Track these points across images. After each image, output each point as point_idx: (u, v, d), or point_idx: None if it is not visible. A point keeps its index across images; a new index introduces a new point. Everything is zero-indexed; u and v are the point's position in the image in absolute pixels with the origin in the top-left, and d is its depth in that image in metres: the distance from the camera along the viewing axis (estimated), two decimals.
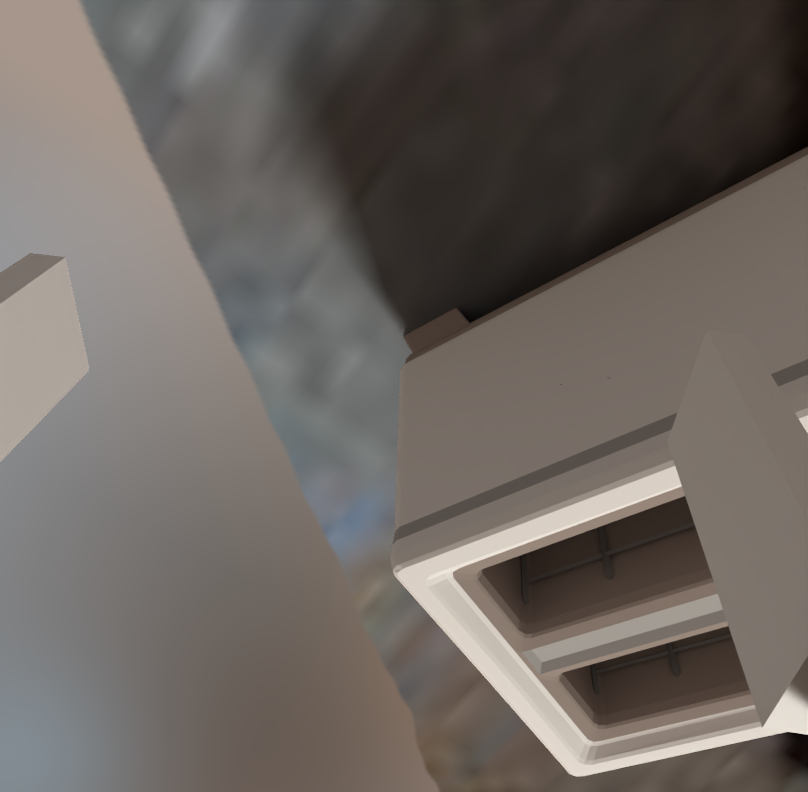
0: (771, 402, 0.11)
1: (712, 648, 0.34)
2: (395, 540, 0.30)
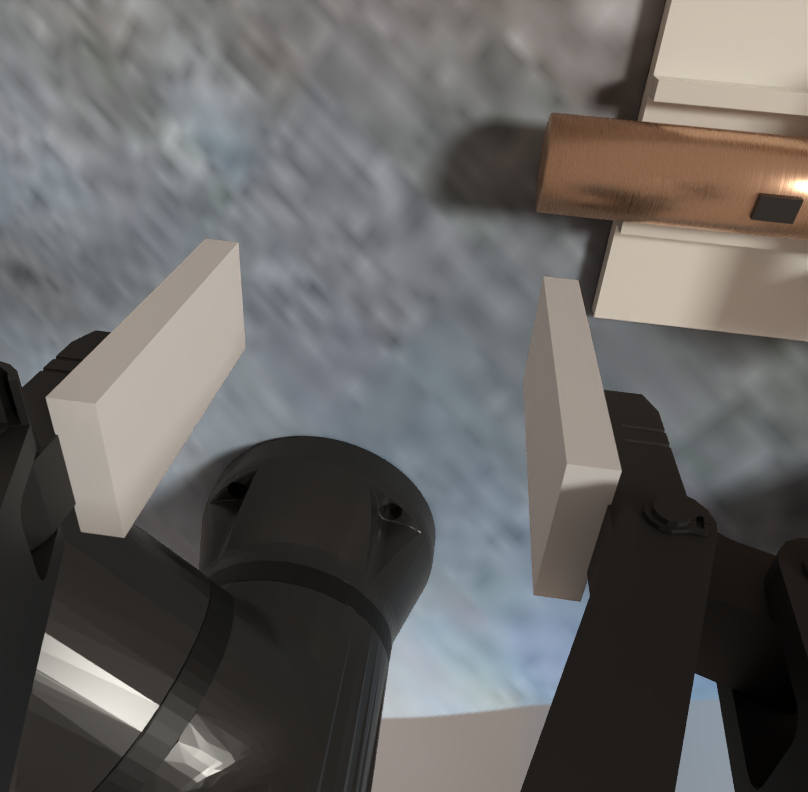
0: (574, 330, 0.13)
1: None
2: None
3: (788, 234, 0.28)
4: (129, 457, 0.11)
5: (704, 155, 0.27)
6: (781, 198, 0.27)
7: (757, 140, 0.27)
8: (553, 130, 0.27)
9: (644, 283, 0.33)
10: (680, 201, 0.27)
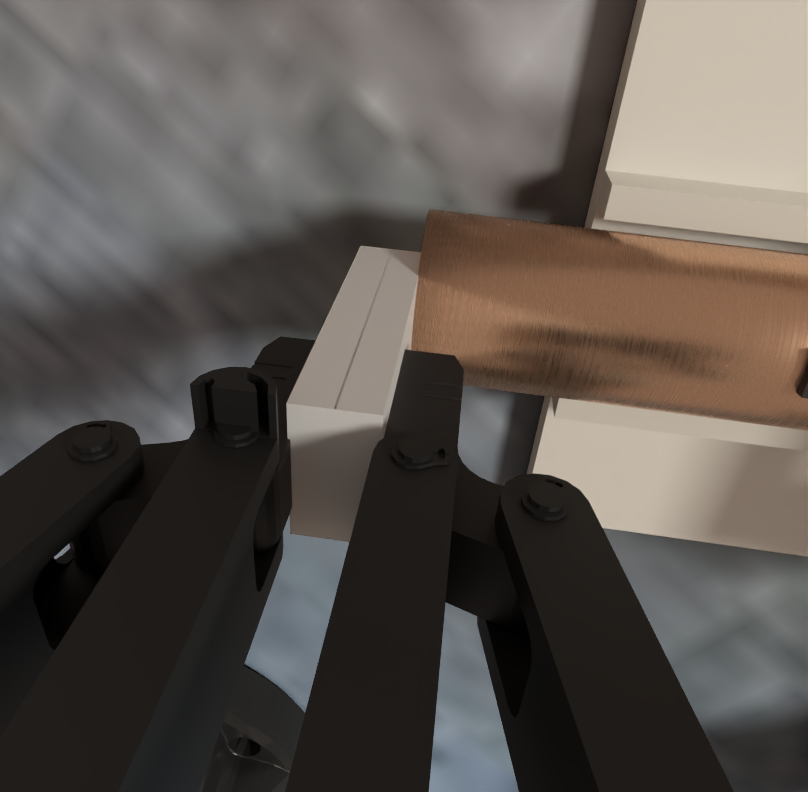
0: (398, 296, 0.14)
1: None
2: None
3: None
4: None
5: (702, 279, 0.14)
6: None
7: (793, 260, 0.15)
8: (426, 229, 0.15)
9: (598, 475, 0.21)
10: (665, 361, 0.15)
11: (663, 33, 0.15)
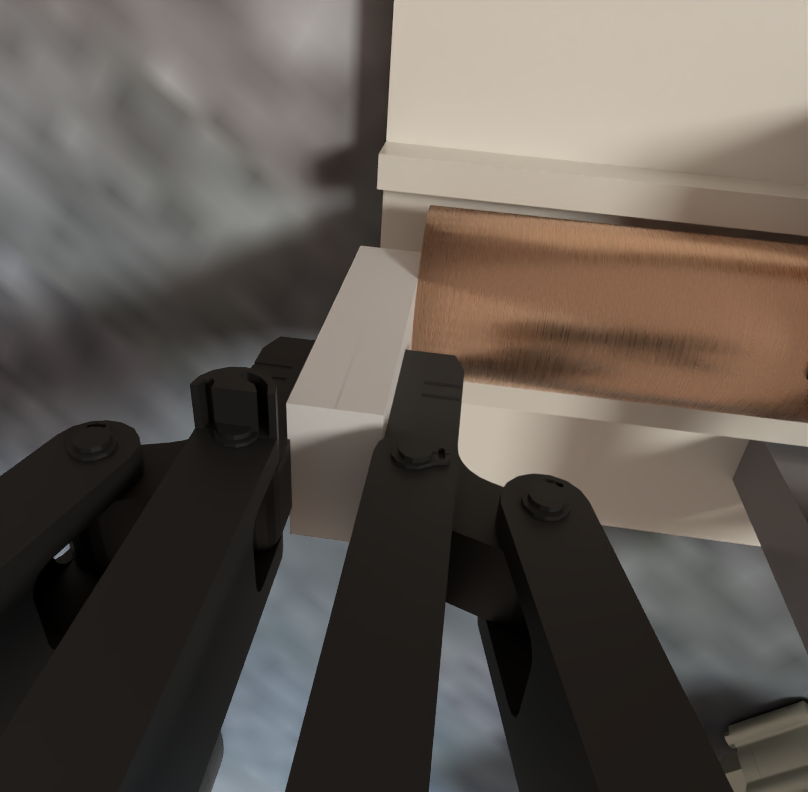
0: (398, 296, 0.14)
1: None
2: None
3: None
4: None
5: (708, 266, 0.14)
6: None
7: (797, 248, 0.15)
8: (428, 221, 0.15)
9: None
10: (672, 349, 0.14)
11: (418, 2, 0.15)
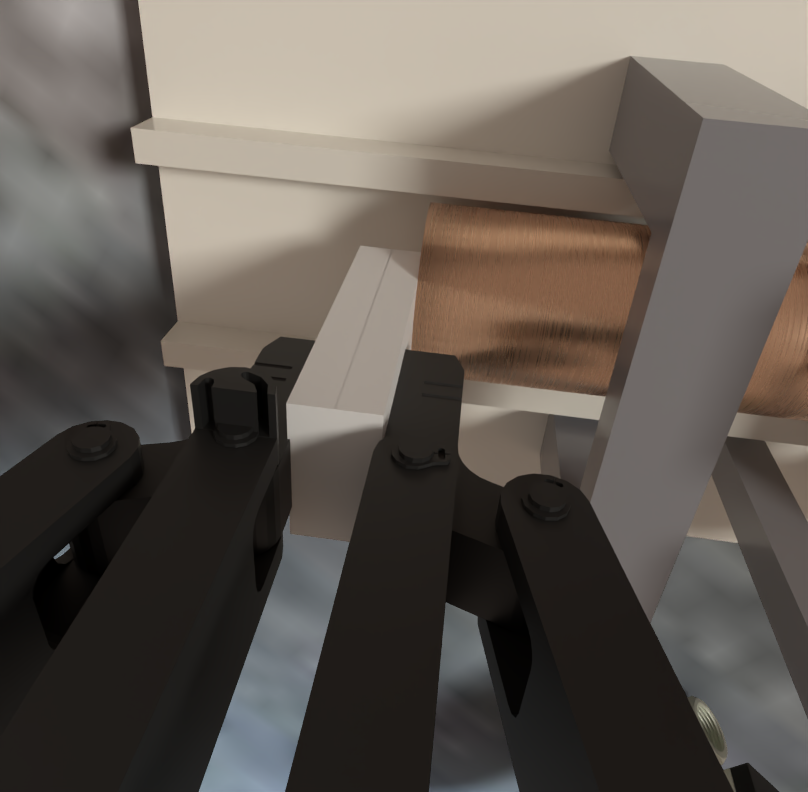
0: (399, 296, 0.14)
1: None
2: None
3: None
4: None
5: None
6: None
7: None
8: (428, 216, 0.15)
9: None
10: None
11: None
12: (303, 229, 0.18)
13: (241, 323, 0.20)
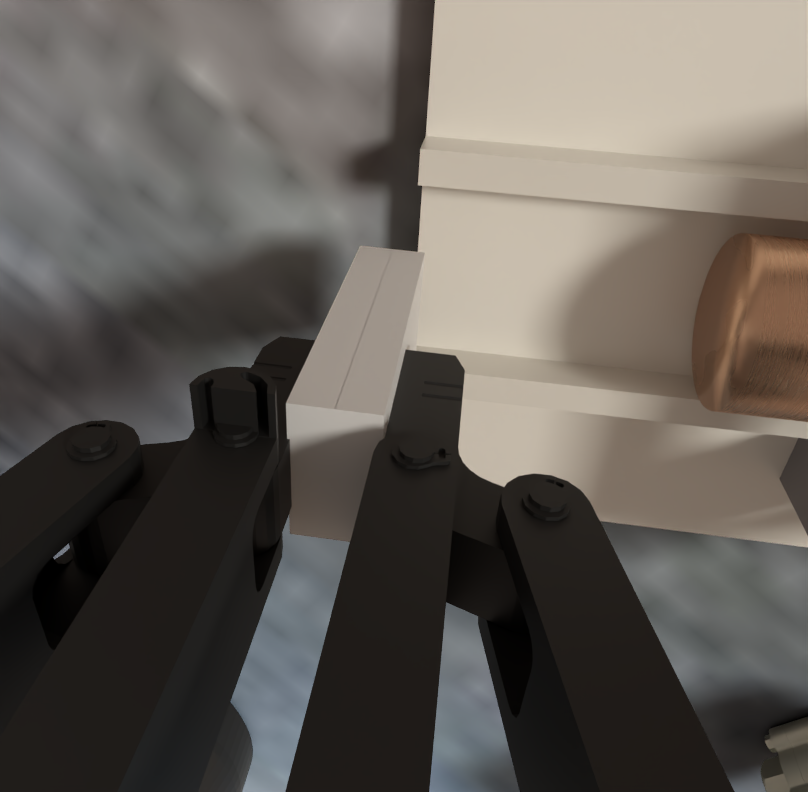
0: (399, 296, 0.14)
1: None
2: None
3: None
4: None
5: None
6: None
7: None
8: (762, 257, 0.14)
9: (469, 452, 0.21)
10: None
11: None
12: (567, 250, 0.17)
13: (480, 346, 0.19)
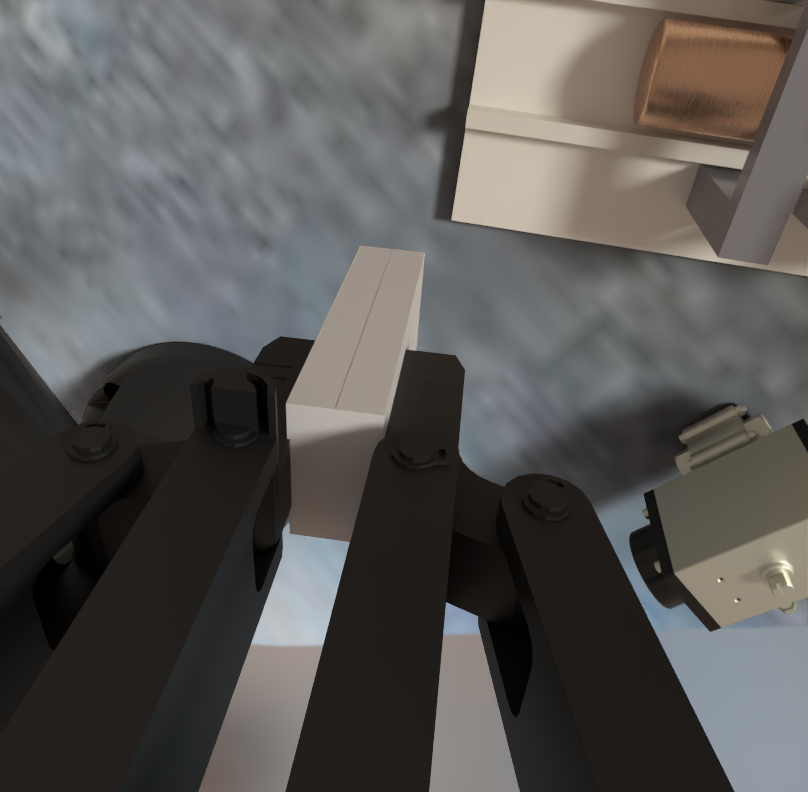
0: (399, 296, 0.14)
1: None
2: None
3: None
4: None
5: None
6: None
7: None
8: (667, 23, 0.27)
9: (498, 185, 0.34)
10: None
11: None
12: (566, 39, 0.30)
13: (511, 105, 0.32)
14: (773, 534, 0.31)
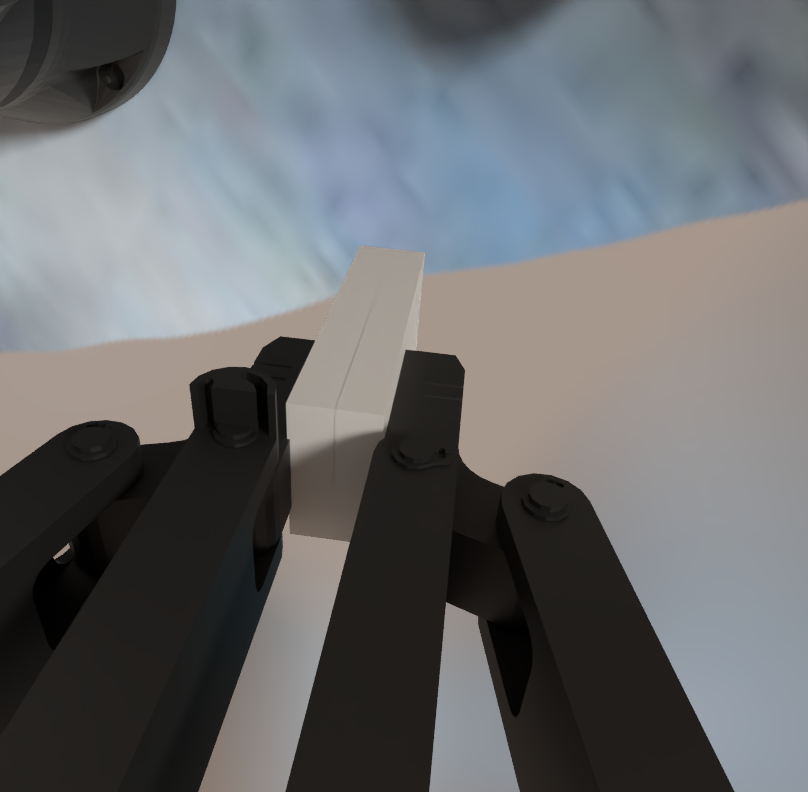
0: (399, 296, 0.14)
1: None
2: None
3: None
4: None
5: None
6: None
7: None
8: None
9: None
10: None
11: None
12: None
13: None
14: None
